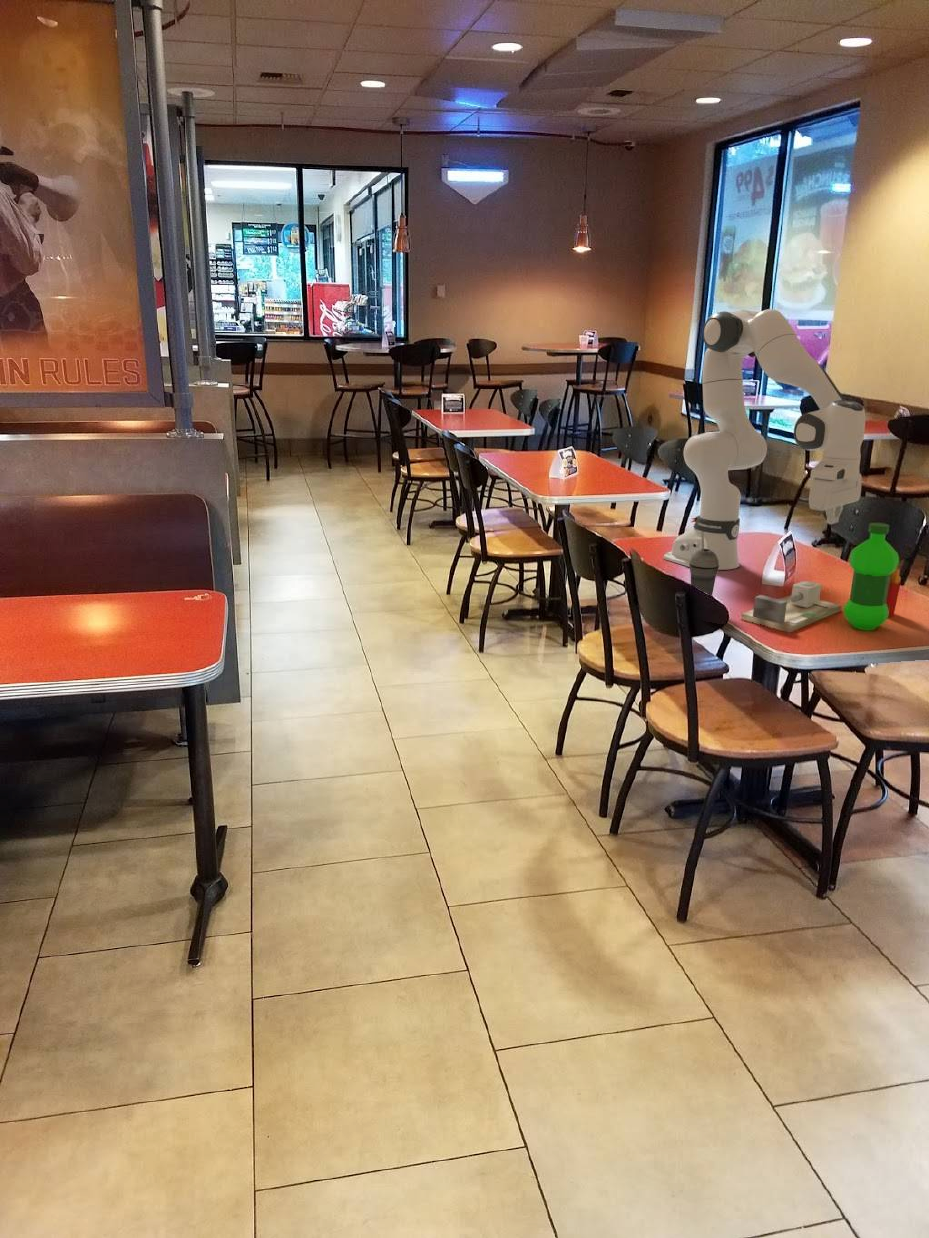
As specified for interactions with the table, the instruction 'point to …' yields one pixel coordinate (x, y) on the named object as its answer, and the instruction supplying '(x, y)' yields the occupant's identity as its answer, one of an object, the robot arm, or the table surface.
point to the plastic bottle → (871, 579)
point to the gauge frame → (787, 613)
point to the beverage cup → (704, 569)
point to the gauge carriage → (806, 594)
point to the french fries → (893, 592)
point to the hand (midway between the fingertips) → (832, 523)
